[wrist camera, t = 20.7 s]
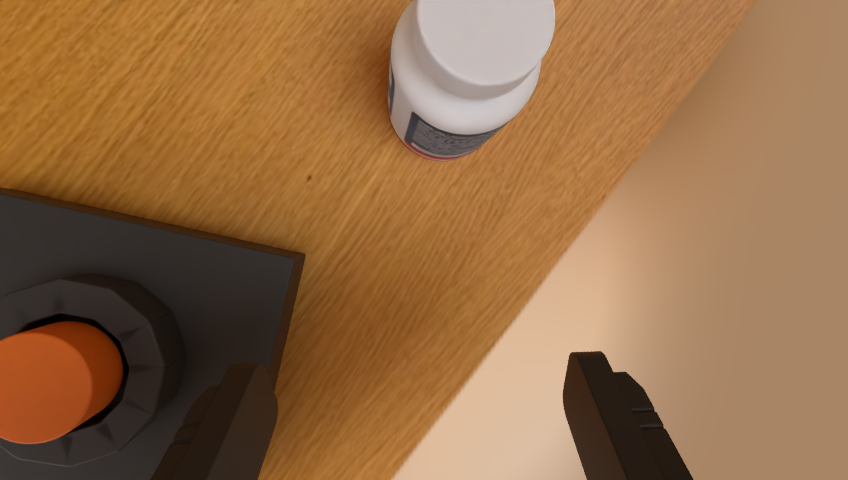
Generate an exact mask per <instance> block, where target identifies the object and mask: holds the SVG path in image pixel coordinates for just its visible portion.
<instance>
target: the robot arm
mask: <svg viewBox="0 0 848 480" xmlns="http://www.w3.org/2000/svg"><path fill="white" fill-rule="evenodd" d="M563 404H564V410H565V414H566V418H567V421H568V424H569V427H570V430H571V433H572V436H573V439H574V442H575V445H576V448H577V451H578V454H579V457H580V460H581V463H582V466H583V469H584V472H585V475H586V478H587V480H693V478H692V476H691V474H690V473H689V471H688V469H687V467H686V465H685V464H684V462H683V460H682V458H681V456H680V454H679V453H678V451H677V449H676V447H675V445H674V443H673V442H672V440H671V438H670V436H669V434H668V432H667V431H666V429H664V427H663V423H662V421H661V420H660V418H659V416H658V414H657V412H655V411H654V407H653V405H652V403H651V402H650V400H649V398H648V396H647V394H646V392H645V390H644V389H643V388H642V387H641V386H640V385H639V384H638V383H637V382H636V381H635V380H634V379H633V378H632V377H631V376H630V375H629V374H627V373H626V372H613V371H612V368H611V366H610V365H609V363H608V360H607V358H606V357H605V355H604V354H603V353H602V352H601V351H596V352H572V353H571V354H570V355H569V360H568V366H567V372H566V377H565V383H564V389H563ZM277 414H278V405H277V400H276V397H275V394H274V391H273V388H272V385H271V382H270V380H269V377H268V374H267V371H266V368H265V366H264V365H263V364H262V363H254V364H233V365H231V366H230V367H229V368H228V370H227V372H226V373H225V375H224V377H223V379H222V381H221V383H220V385H219V386H210V387H209V388H208V389H207V390H206V391H205V392H204V393H203V394H202V395H201V396H200V397H199V398H198V399H197V400H196V401H195V402H194V403H193V404H192V406H191V407H190V409H189V411H188V413H187V415H186V416H185V418H184V420H183V422H182V426H181V427H179V429H178V431H177V433H176V434H175V436H174V438H173V443H172V444H170V445H169V447H168V449H167V451H166V453H165V454H164V456H163V458H162V460H161V462H160V463H159V465H158V467H157V469H156V471H155V472H154V474H153V476H152V478H151V480H257V479H258V476H259V473H260V470H261V467H262V464H263V461H264V458H265V455H266V452H267V449H268V446H269V443H270V440H271V437H272V434H273V431H274V428H275V425H276V421H277Z"/></svg>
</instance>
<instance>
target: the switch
mask: <svg viewBox="0 0 848 480" xmlns="http://www.w3.org/2000/svg"><path fill="white" fill-rule="evenodd" d="M122 377H123V362H122V358H121V355H120V352H119V350H118V348H117V346H116V345H115V343H114V342H113V341H112V340H111V338H110V337H109V336H107V335H106V334H105V333H104V332H102V331H101V330H99V329H98V328H96V327H94V326H91V325H89V324H85V323H81V322H75V321H63V322H57V323H52V324H49V325H45V326H42V327H39V328H35V329H32V330H28V331H25V332H21V333H18V334H14V335H11V336H9V337H6V338H4V339H2V340H0V437H1V438H3V439H5V440H8V441H11V442H15V443H21V444H37V443H44V442H48V441H52V440H54V439H57V438H59V437H61V436H63V435H65V434H67V433H68V432H70V431H71V430H73V429H74V428H76V427H77V426H79V425H80V424H82V423H83V422H85V421H86V420H88V419H89V418H91V417H93V416H94V415H96V414H97V413H99V412H100V411H101V410H103V409H104V408H105V407H106V406H107V405H109V404H110V402H111V401H112V400H113V399H114V397H115V396H116V394H117V392H118V390H119V388H120V385H121V382H122Z"/></svg>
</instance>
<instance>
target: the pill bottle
mask: <svg viewBox="0 0 848 480" xmlns="http://www.w3.org/2000/svg"><path fill="white" fill-rule="evenodd" d="M554 28H555V8H554V1H553V0H412V1H411V2H410V3H409V5H408V6H407V7H406V9H405V10H404V12H403V13H402V15H401V17H400V19H399V21H398V23H397V25H396V28H395V31H394V35H393V38H392V44H391V51H390V66H389V83H388V111H389V116H390V120H391V123H392V125H393V128H394V130H395V132H396V133H397V135H398V136H399V138H400V139H401V140H402V142H403V143H404V144H405V145H406V146H407V147H408V148H410V149H411V150H412V151H414V152H415V153H417V154H418V155H421V156H423V157H425V158H428V159H432V160H438V161H449V160H455V159H459V158H462V157H465V156H467V155H469V154H471V153H472V152H474V151H475V150H477V149H478V148H479V147H480V146H482V145H483V144H484V143H485V142H486V141H487V140H488V139H489V138H490V137H492V136H493V135H494V134H495V133H496V132H497V131H499V130H500V129H501V128H502V127H503V126H504V125H506V124H507V123H508V122H509V121H510V120H511V119H513V118H514V117H515V116H516V115H517V114H518V113H519V112H520V111H521V109H522V108H523V107H524V106H525V105H526V103H527V102H528V100H529V99H530V97H531V95H532V93H533V91H534V89H535V87H536V84H537V81H538V78H539V74H540V68H541V60H542V58H543V57H544V55H545V54H546V52H547V50H548V48H549V46H550V44H551V41H552V38H553V34H554Z"/></svg>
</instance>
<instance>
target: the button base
mask: <svg viewBox="0 0 848 480" xmlns="http://www.w3.org/2000/svg"><path fill="white" fill-rule="evenodd" d="M304 261H305V254H302V253H298V252H293V251H289V250H284V249H280V248H275V247H271V246H266V245H262V244H257V243H252V242H248V241H243V240H239V239H234V238H230V237H225V236H221V235H216V234H212V233H207V232H203V231H198V230H194V229H189V228H185V227H180V226H176V225H171V224H167V223H162V222H158V221H153V220H149V219H144V218H140V217H135V216H131V215H126V214H122V213H117V212H113V211H108V210H104V209H99V208H94V207H90V206H85V205H81V204H76V203H72V202H67V201H63V200H58V199H54V198H49V197H45V196H40V195H36V194H31V193H27V192H22V191H18V190H13V189H7V188H0V340H2V339H4V338H6V337H9V336H11V335H14V334H18V333H21V332H25V331H28V330H32V329H35V328H39V327H42V326H45V325H49V324H52V323H57V322H63V321H75V322H81V323H85V324H89V325H91V326H94V327H96V328H98V329H99V330H101V331H102V332H104V333H105V334H106V335H107V336H109V337H110V338H111V340H112V341H113V342H114V343H115V345H116V346H117V348H118V350H119V352H120V355H121V358H122V362H123V377H122V382H121V385H120V388H119V390H118V392H117V394H116V396H115V397H114V399H113V400H112V401H111V402H110V404H109V405H107V406H106V407H105V408H104V409H103V410H101V411H100V412H99V413H97V414H96V415H94V416H93V417H91V418H89V419H88V420H86V421H85V422H83V423H82V424H80V425H79V426H77V427H76V428H74V429H73V430H71V431H70V432H68V433H67V434H65V435H63V436H61V437H59V438H57V439H54V440H52V441H48V442H44V443H37V444H21V443H15V442H11V441H8V440H5V439H3V438H1V437H0V480H151V478H152V476H153V474H154V472H155V471H156V469H157V467H158V465H159V463H160V462H161V460H162V458H163V456H164V454H165V453H166V451H167V449H168V447H169V445H170V444H172V443H173V438H174V436H175V434H176V433H177V431H178V429H179V427H181V426H182V422H183V420H184V418H185V416H186V415H187V413H188V411H189V409H190V407H191V406H192V404H193V403H194V402H195V401H196V400H197V399H198V398H199V397H200V396H201V395H202V394H203V393H204V392H205V391H206V390H207V389H208V388H209V387H210V386H219V385H220V383H221V381H222V379H223V377H224V375H225V373H226V372H227V370H228V368H229V367H230V366H231V365H233V364H254V363H262V364H263V365H264V366H265V368H266V371H267V374H268V377H269V380H270V382H271V385H272V388H273V391H274V390H275V385H276V381H277V377H278V372H279V368H280V364H281V360H282V355H283V351H284V347H285V342H286V338H287V334H288V329H289V325H290V321H291V316H292V312H293V308H294V304H295V299H296V295H297V291H298V286H299V282H300V278H301V273H302V269H303V265H304Z"/></svg>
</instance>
